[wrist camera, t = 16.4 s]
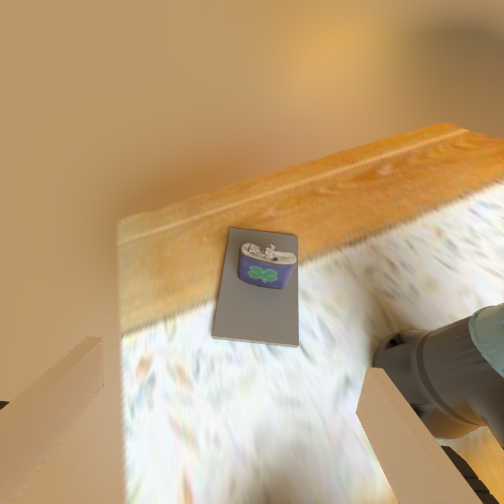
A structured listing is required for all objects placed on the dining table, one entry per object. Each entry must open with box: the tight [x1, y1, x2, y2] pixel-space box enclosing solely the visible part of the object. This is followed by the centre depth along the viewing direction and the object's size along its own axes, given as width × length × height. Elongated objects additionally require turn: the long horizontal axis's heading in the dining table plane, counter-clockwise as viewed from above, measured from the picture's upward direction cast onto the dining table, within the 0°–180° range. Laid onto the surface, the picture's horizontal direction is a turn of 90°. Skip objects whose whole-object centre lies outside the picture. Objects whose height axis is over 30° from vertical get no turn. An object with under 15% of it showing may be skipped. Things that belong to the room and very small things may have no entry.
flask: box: [237, 243, 297, 289], centre depth 43 cm, size 9×3×11 cm, turn 78°
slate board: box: [212, 228, 299, 348], centre depth 48 cm, size 14×22×2 cm, turn 175°
